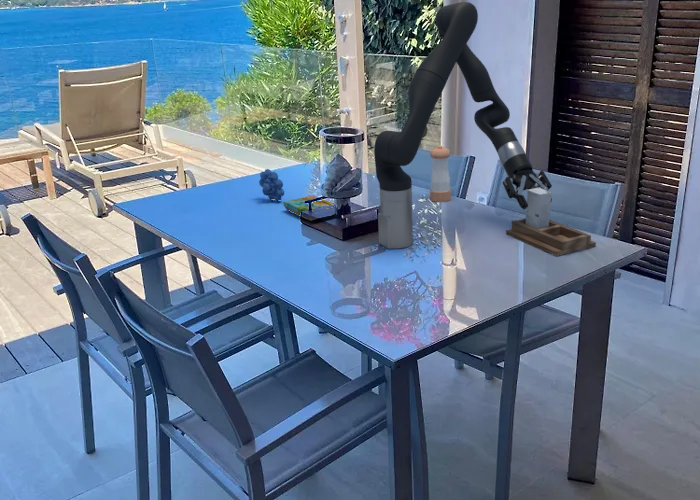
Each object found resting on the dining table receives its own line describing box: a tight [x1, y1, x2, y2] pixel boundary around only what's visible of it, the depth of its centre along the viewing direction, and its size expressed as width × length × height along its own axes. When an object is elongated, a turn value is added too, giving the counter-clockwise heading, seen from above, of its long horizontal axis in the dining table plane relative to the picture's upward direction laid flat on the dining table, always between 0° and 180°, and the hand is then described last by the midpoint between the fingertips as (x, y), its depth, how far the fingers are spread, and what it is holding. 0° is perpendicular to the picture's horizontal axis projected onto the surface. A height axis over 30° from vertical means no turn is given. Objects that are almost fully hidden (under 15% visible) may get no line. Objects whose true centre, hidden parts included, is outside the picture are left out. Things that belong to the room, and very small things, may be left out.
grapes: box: [258, 168, 285, 201], centre depth 250 cm, size 12×7×12 cm, turn 53°
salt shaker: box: [429, 145, 452, 203], centre depth 240 cm, size 7×7×19 cm
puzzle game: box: [282, 194, 335, 215], centre depth 234 cm, size 12×5×20 cm
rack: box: [505, 217, 597, 257], centre depth 198 cm, size 14×22×4 cm, turn 25°
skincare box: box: [525, 187, 552, 229], centre depth 201 cm, size 6×4×12 cm
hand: (537, 205), depth 200 cm, fingers open, 8 cm apart
